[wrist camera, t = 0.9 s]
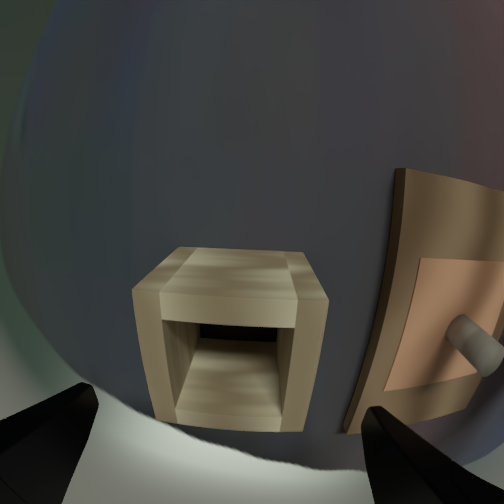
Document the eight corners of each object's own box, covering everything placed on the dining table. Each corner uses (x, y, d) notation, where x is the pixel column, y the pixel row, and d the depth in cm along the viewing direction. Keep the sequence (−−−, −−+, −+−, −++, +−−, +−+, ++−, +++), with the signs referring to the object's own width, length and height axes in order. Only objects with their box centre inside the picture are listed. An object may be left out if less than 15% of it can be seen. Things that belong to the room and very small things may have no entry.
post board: (520, 198, 13) (572, 210, 8) (459, 401, 17) (486, 438, 12) (395, 168, 13) (457, 168, 8) (343, 423, 18) (358, 479, 12)
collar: (302, 252, 14) (329, 300, 9) (291, 355, 16) (302, 431, 10) (179, 246, 15) (131, 289, 9) (185, 349, 16) (156, 419, 10)
